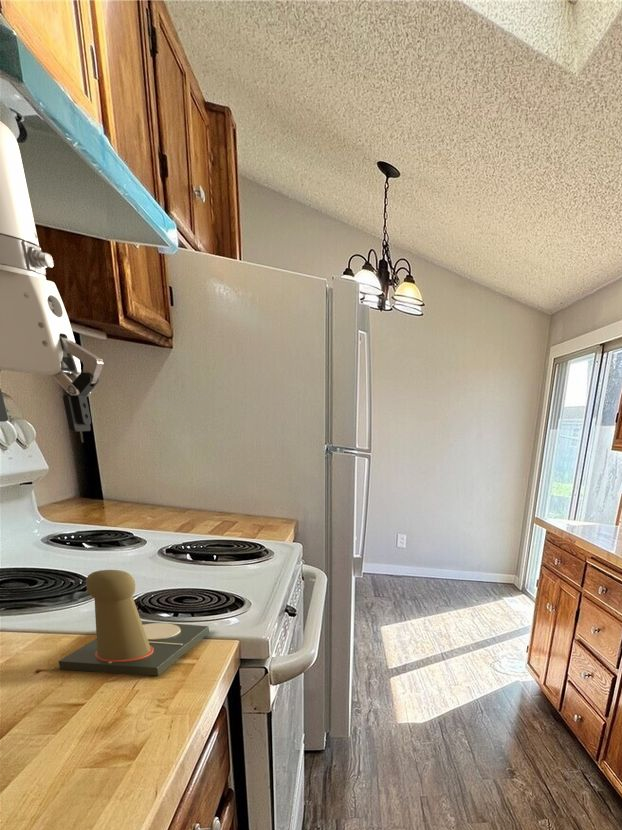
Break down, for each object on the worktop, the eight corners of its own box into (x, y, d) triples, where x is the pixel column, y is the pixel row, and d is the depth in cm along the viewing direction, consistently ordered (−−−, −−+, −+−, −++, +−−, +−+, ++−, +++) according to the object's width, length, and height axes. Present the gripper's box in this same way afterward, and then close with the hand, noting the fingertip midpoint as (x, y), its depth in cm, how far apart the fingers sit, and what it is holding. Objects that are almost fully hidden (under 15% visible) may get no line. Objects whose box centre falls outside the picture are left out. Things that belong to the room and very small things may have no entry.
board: (60, 669, 72) (57, 659, 71) (128, 627, 86) (126, 618, 85) (158, 676, 73) (156, 666, 72) (209, 633, 87) (208, 624, 87)
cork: (85, 654, 73) (66, 572, 68) (125, 639, 78) (109, 563, 74) (124, 663, 72) (107, 581, 67) (161, 647, 77) (148, 570, 73)
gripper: (103, 278, 66) (129, 433, 73) (-57, 255, 64) (-14, 417, 71) (61, 262, 59) (95, 435, 67) (-119, 236, 57) (-64, 417, 65)
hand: (39, 426), depth 69 cm, fingers open, 9 cm apart
